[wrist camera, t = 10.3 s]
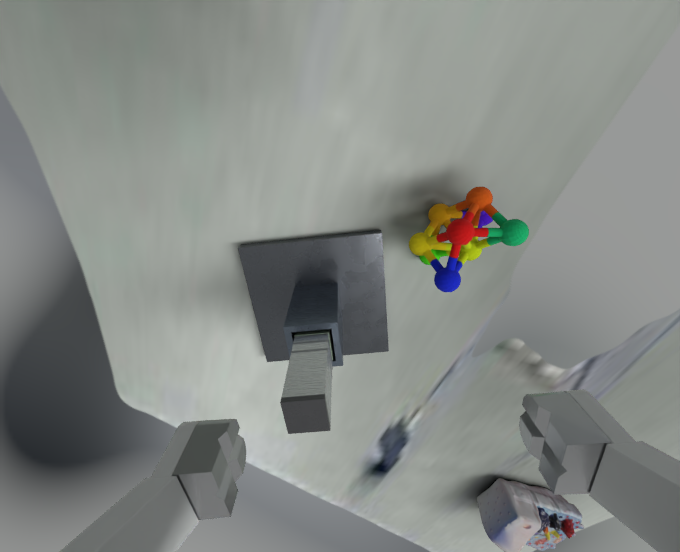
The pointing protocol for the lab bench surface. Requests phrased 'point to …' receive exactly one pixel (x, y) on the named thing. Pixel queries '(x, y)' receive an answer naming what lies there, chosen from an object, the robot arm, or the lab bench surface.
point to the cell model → (526, 516)
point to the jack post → (309, 382)
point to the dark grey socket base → (319, 292)
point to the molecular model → (463, 235)
